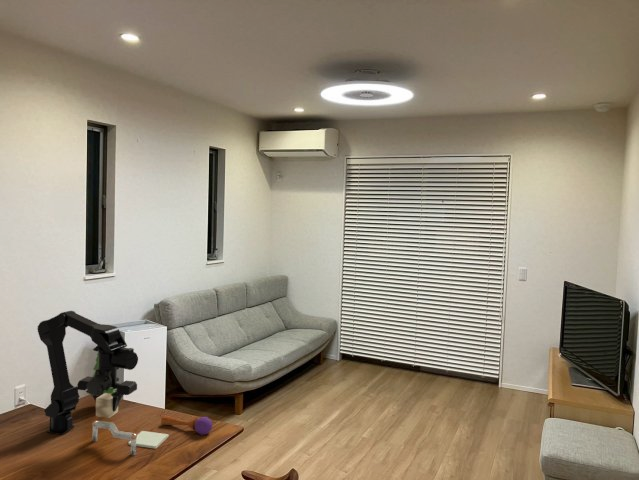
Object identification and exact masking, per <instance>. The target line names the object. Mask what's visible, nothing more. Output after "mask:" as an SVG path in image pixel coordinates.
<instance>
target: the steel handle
mask: <svg viewBox="0 0 639 480" xmlns="http://www.w3.org/2000/svg"><path fill="white" fill-rule="evenodd" d="M91 426H92V433H91V434H92V438H91V440H92V441H91V442H92V443H95V442H98V434H99V433H98V430H99V429H105V430H106V429H107V430H109V431H110V433H111V435H112V436H113V438H115V439H122V440H128V441H131V445H130V456H132V457H134V456H136V455H137V446H136V438H137V435H138V434H137V433H135V432H129V431H128V432H127V431H121V430H119V429H118V427H117V425H116V424H115V423H114V422H111V421H104V420H94V421H92V423H91Z"/></svg>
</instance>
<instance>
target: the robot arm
mask: <svg viewBox="0 0 639 480" xmlns="http://www.w3.org/2000/svg"><path fill="white" fill-rule="evenodd" d="M68 327H70V328H72V329H74V330H76V331H78V332H80V333H82V334H84V335H86V336H88V337H90V339H91V341H92V342H93V343H95V345H96V346H95V347H94V348H93V349H92V350H93V352H94V351H95V352H97V354H98V355H97V356H98V369H97V370H96V372H95V371H94V373H95V377H93V376H89V375H88V376H86V377H84V378H81V379H80V380H79V381H78V383H77V384H76V385H77V386H74V385H73V384H72V383H71V382H70V375H69V371H68V365H67V361H66V354H65V349H64V344H63V343H64V340H65V337H66V335H67V331H66V328H68ZM36 329H37V334H38V337H39V339H40V341H41V342H42V343H43V344H44V345H45V346H46V349H47V354H48V356H47V357H48V362H49V367H50V372H51V377H52V382H53V389H52V392H51V394H50V403H49V405H48V406H47V407H46V408H44V414H45V417H48V418H49V429H46V433H48V434H56V435H64V434H65V433H67V432H69V431H70V430H72V429H73V428H75V425H74V424H73V416H72V411H75V410H76V409H77V406H78V404H79V403H80V401H79V400H80V397H81V396H80V394H79V390H80V391H85V392H86V393H87V394H89V395H90V396H91V395H92V396H91V397H92V399H93V400H94V402H95V403H96V398H98V397H99V396H101V395H103V391H104V390H106V391H107V390H108V389H115V392H114V393H113V394H111V396H112V397H113V412H115V411H116V409H117V407H118V408H119V405H120V402H121V400H122V398H123V396H129V395H131V394H132V393H134V392H135V391H137V390H138V384H137V382H136V381H133V380H125V381H123V382H121V383H119V380H120V378H119V377H118V376H117V371H118V370H119V369H123V370H129V371H131V370H133V369H135V368H136V366H137V365H138V363H139V356H138V354H137V353H136V352H134V348H133V347H127V346H128V345H127V342H126V341H125V339H124V337H123V335H122V333H121V331H120V329H119V328H118V327H117V326H115V325H111V324H101V323H98V322H96V321H94V320H92V319H89V318H86V317H85V316H83V315H80V314H78V313H76V311H74V310H68V311H62V312H59V314H57V315H56V316H54V317H51V318H49V319H46V320H42V321H40V322H39V324H38V325H37V328H36ZM109 345H110V346H109Z"/></svg>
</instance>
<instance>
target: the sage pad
mask: <svg viewBox="0 0 639 480" xmlns="http://www.w3.org/2000/svg"><path fill="white" fill-rule="evenodd" d="M136 435H137V438H136V447H140V448H141V447H142V448H148V449H149V448H150V449H154V450H155V449H156V450H157V448H158V447H159V446H161V444H163V443H164V441H165V440H167V439H168V438H169V434H167V433H160V432H155V431H154V432H153V431H147V430H146V431H145V430H141V431H140V432H138V433H137V434H136ZM127 443H128V445H127V446H131V440H128V442H127Z"/></svg>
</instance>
